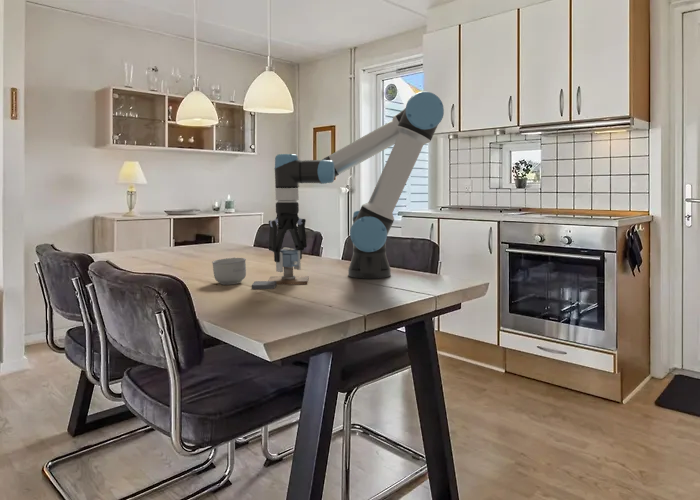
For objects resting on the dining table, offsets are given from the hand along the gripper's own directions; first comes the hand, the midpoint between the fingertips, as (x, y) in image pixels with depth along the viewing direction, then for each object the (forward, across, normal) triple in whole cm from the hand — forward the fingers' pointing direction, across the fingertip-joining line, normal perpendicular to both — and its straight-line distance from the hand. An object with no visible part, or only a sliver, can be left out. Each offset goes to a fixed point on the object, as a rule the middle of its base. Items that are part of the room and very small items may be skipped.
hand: (288, 270), depth 179 cm
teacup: (+4, +14, -13) cm, 20 cm away
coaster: (+4, +11, +2) cm, 12 cm away
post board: (+4, 0, 0) cm, 4 cm away
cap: (-2, 0, 0) cm, 2 cm away
